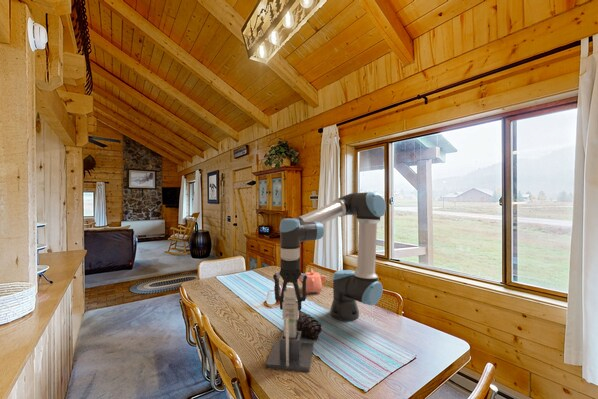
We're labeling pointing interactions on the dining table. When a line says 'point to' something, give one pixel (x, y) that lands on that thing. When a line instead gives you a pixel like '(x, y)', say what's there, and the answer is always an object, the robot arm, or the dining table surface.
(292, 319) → the column
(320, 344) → the dining table surface
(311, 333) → the pine cone
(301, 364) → the stand base
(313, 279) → the teapot
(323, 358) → the dining table surface
